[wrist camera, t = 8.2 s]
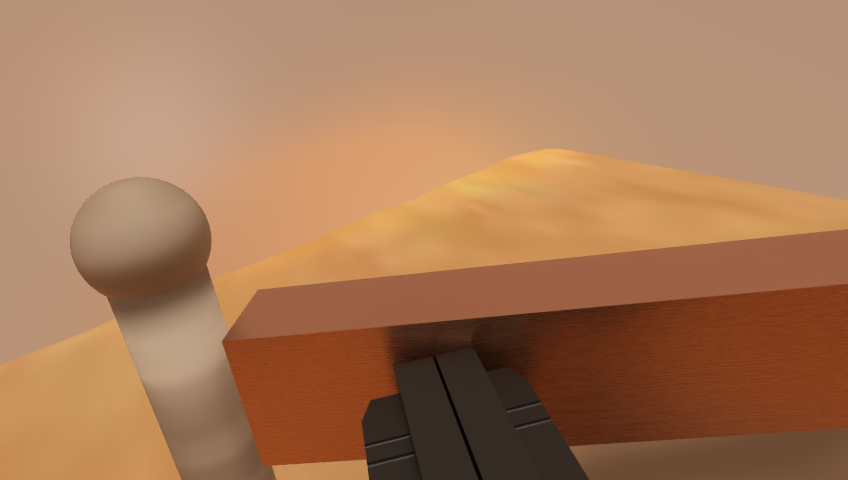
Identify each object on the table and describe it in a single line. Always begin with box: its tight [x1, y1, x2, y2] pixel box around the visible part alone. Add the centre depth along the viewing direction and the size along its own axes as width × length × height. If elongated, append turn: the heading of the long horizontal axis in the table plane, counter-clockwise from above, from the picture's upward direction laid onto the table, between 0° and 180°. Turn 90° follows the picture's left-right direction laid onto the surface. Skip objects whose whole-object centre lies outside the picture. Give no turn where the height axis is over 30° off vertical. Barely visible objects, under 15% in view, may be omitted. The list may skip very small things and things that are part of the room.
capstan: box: [222, 229, 848, 466], centre depth 12 cm, size 20×6×13 cm, turn 86°
